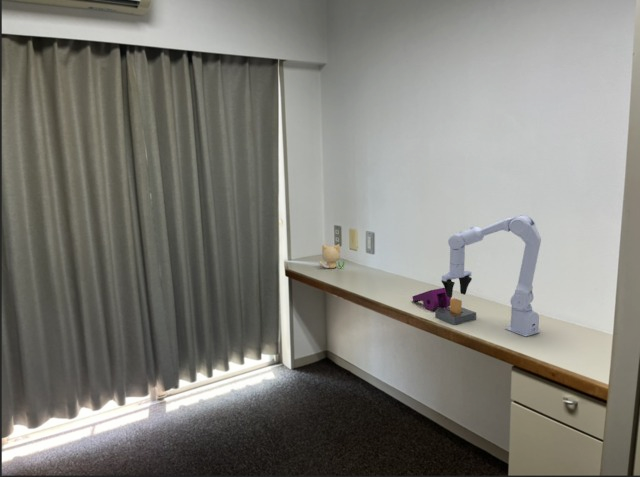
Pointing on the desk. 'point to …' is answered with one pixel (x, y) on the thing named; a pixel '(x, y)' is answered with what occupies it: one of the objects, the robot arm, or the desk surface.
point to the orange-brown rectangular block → (455, 306)
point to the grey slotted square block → (455, 316)
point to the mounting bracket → (434, 299)
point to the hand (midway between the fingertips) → (456, 295)
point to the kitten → (331, 256)
